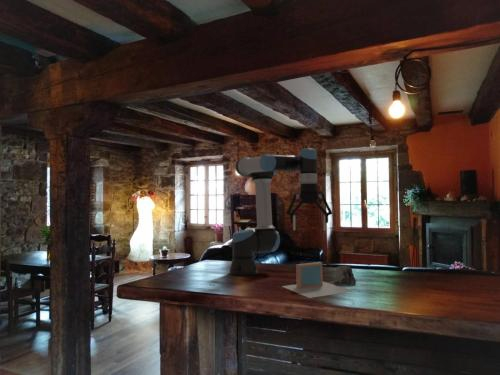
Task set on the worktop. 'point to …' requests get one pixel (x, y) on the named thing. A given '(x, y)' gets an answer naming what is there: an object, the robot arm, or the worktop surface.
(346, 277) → the stone
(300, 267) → the picture frame
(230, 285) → the worktop surface
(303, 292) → the board
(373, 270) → the worktop surface
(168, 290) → the worktop surface
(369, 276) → the worktop surface
